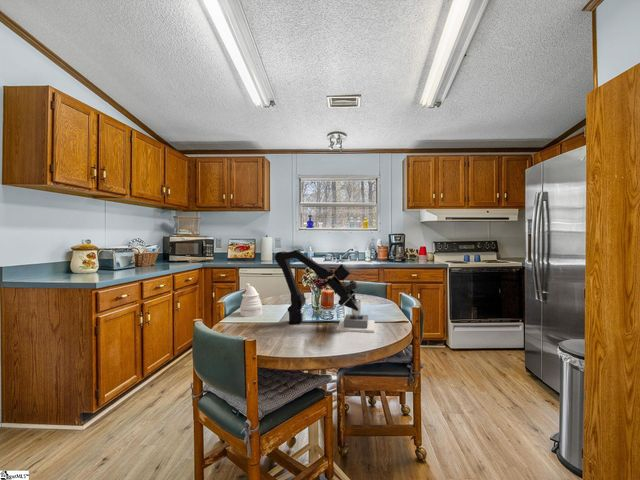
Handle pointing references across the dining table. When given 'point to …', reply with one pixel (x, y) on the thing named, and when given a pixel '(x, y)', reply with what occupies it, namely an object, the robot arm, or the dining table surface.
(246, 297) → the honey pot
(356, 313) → the grey cylindrical piece
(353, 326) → the mount
